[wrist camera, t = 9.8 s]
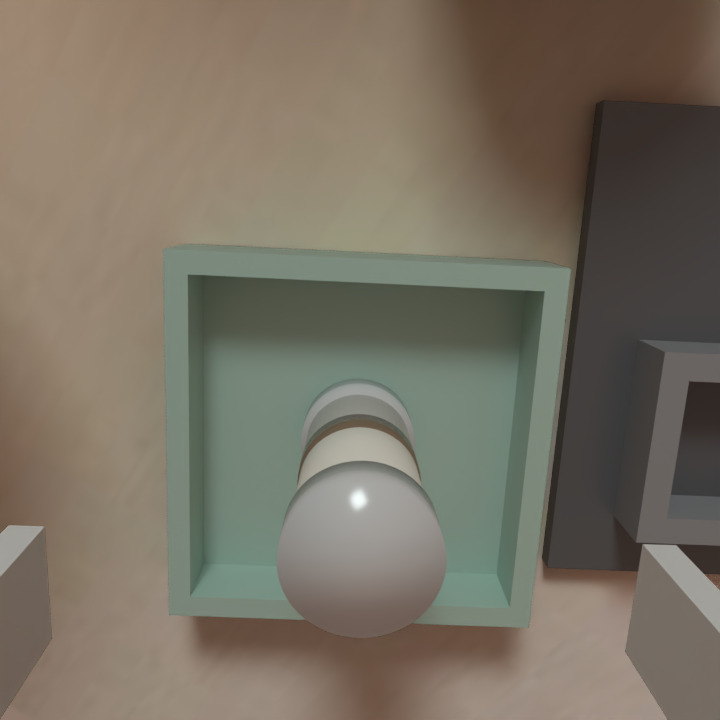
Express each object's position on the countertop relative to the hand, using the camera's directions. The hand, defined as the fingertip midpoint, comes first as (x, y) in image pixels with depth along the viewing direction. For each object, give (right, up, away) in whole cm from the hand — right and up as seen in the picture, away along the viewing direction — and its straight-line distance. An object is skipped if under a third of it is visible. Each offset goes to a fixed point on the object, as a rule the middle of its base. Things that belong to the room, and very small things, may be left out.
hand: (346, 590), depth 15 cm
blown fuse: (0, +2, +11) cm, 12 cm away
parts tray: (0, +3, +12) cm, 12 cm away
